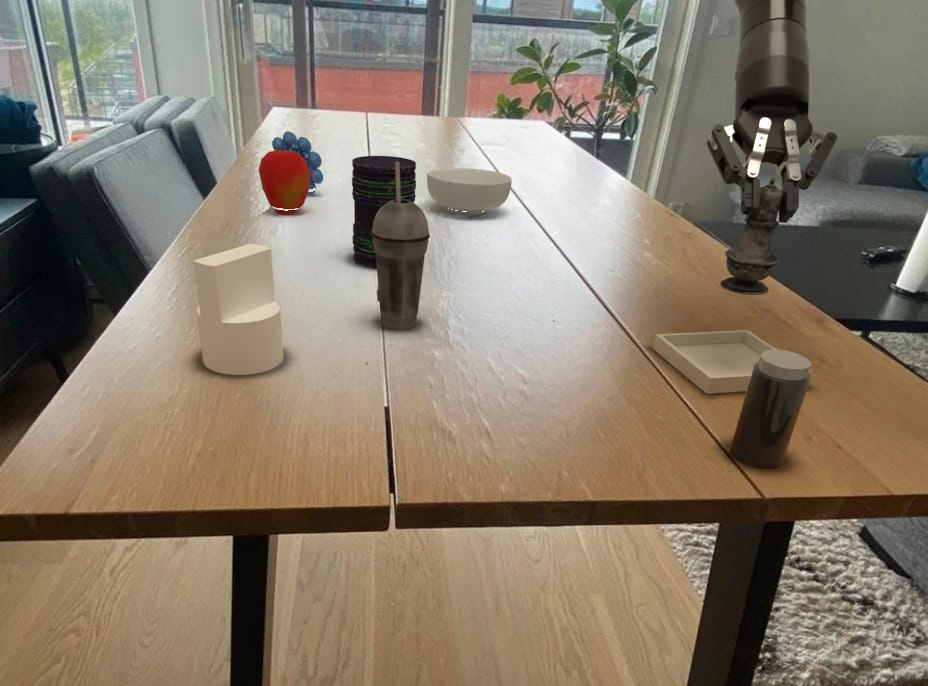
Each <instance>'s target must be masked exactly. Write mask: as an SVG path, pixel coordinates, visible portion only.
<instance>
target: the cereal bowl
mask: <svg viewBox="0 0 928 686" xmlns="http://www.w3.org/2000/svg"><path fill="white" fill-rule="evenodd" d="M512 180H513V179H512V177H511V176H510V175H508V174H506V173H502V172H498V171H494V170H488V169H480V168H468V167H467V168H466V167H447V168H446V167H445V168H438V169H437V168H436V169H432V170H429V171H428V172H427V175H426V186H427V192H428V194H429V195H430V197H431V198H432V200H433V201H434V202H435V203H436V204H438V205H439V206H442V207H444V208H446V210H447V211H448V212H449V213H451V214H454V215H459V216H467V217H470V216H471V217H477V216H483V215H485V214H487V212H488V210H489V211H492V210H494V209H497V208H499V207H501V206H502V205H504V204H505V202H506V201H507V200H508V198H509V196H510V193H511V188H512V182H513V181H512ZM448 208H449V209H448ZM451 209H453V210H451ZM455 210H458V211H455ZM462 211H467V212H462ZM482 211H484V212H482Z"/></svg>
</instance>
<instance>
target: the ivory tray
mask: <svg viewBox="0 0 928 686" xmlns="http://www.w3.org/2000/svg"><path fill="white" fill-rule="evenodd" d="M652 350H653V351H654V352H656V353H657V354H658V355H659V356H661V358H663V359H664V360H665V361H666V362H668V364H670V365H671V366H672V367H674V368H675V369H676V370H677V371H678V372H680V373H681V374H682V375H683V376H684V377H686V378H687V379H688V380H689V381H690V382H692V383H693V385H695V386H696V387H698V388H699V389H700V390H701V391H702V392H703V393H705V394H706V395H713V394H726V393H727V394H728V393H741V392H746V391H747V388H748V384H749V381H750V377H751V374H752V370H753V367H754V365H755V364H756V363H757V362H759V358H760V355H761V353H762V352H764V351H767V350H778V348H776V347H774V346H773V345H772V344H770V343H768V342H767V341H765V340H764V339H762V338H761V337H759V336H758V335H756V334H754V333H753V332H751V331H750V330H749V329H740V330H739V329H738V330H719V331H699V332H677V333H674V332H673V333H657V334H655V337H654V341H653V345H652ZM809 374H810V375H811V374H812V371H811V370H810V371H809Z"/></svg>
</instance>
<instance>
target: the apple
mask: <svg viewBox="0 0 928 686" xmlns="http://www.w3.org/2000/svg"><path fill="white" fill-rule="evenodd" d="M258 173H259V179H260V184H261V188H262V189H261V190H262V191H263V193H264V195H265V198H266V200H267V203H268V204H269V206H271V207H272V206H273V207H276V208H283V209H295V208H299V209H301V208H302V207H303V206H304V204H305V202H306V200H307V196H308V191H309V184H310V171H309V168H308V165H307V163H306V161H305V160H304V159H303V158H302V157H301V156H300V155H299V154H298V153H295V152H292V151H286V150H283V146H282V150H271V151H268V152H266V153H265V154H264V155H263V156H262V158H261V160H260V162H259V167H258ZM300 207H301V208H300ZM272 209H273V210H274V211H276V213H278V214H280V215H285V216H290V215H293V214H295V213H296V212H297V211H299V209H297V210H288V211H284V210H277V209H274V208H272Z"/></svg>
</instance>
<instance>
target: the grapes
mask: <svg viewBox="0 0 928 686" xmlns="http://www.w3.org/2000/svg"><path fill="white" fill-rule="evenodd" d="M271 146H272V148H273V151H275V150H282V146H283V150H286V151H292V152H295V153H298V154H299V155H300V156H301V157H302V158H303V159H304V160H305V161H306V163H307V165H308V168H309V171H310V184H309V189H313V188H316V189H317V185H320V184H321V183H323V182H324V174H323V172H322V171H321V170H320V169H319V168H320V167H321V166H322V164H323V163H322V162H323V161H322V157H321V156H320V154H319V153H318V152H316V151H312V144H311V141H310V140H309V139H308V138H307V137H304V136H300V137H297V136H296V134H295V133H294V132H292V131H290V130H289V131H288V130H287V131H284V133H283V135H282V138H281V137H280V136H279V137H278V136H275V137H274V138H273V139H272V141H271ZM316 184H317V185H316ZM315 192H316V191H313V192H308V193H307V195H313V194H315Z"/></svg>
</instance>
